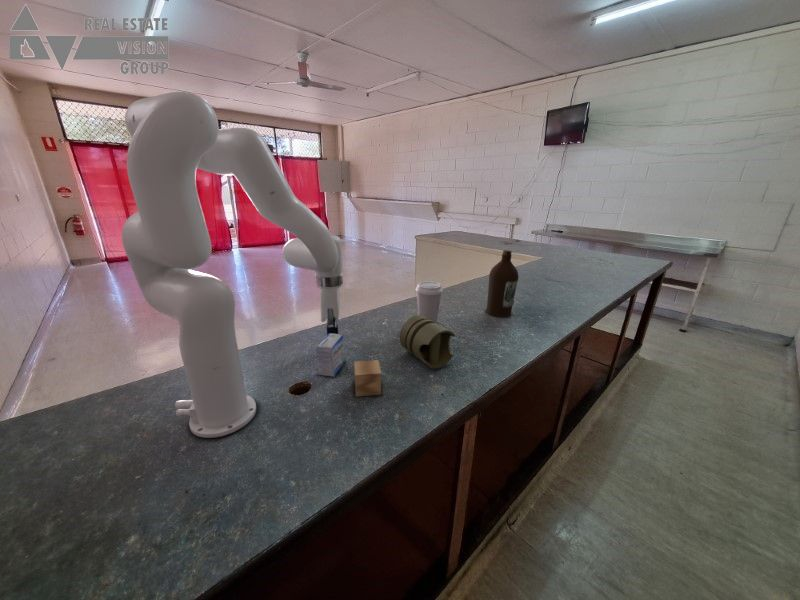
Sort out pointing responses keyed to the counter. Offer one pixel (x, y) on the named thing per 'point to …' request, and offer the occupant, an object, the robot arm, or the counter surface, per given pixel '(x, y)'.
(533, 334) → the counter surface
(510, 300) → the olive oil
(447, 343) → the piston
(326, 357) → the medicine box
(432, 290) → the coffee cup
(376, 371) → the maple block
